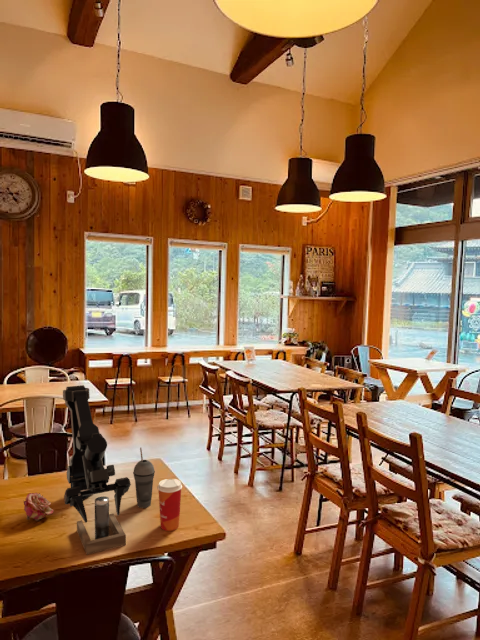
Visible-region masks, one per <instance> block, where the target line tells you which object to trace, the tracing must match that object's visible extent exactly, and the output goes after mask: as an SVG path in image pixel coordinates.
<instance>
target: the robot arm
mask: <svg viewBox="0 0 480 640" xmlns="http://www.w3.org/2000/svg"><path fill="white" fill-rule="evenodd" d="M62 398H63V401H64V404H65V406H66V407H67V408H68V410H69V411H70V421H71V424H70V425H71V435H72V436H71V437H72V448H73V449H72V451H73V453H72V456H71V457H70V460H69V463H68V464H69V465H68V467H67V469H66V479H67V482H68V484H70V487H67V488H66V489H65V492H64V496H63V499H64V501H63V502H64V505H67V506H68V505H69V507H73V508H74V509H75V511H77V512H78V513H79V515H80V516H81V518H82V521H83V522H84V523H87V522H88V517H87V512H86V508H85V505H84V500H85V499H88V498H89V497H92V496H93V495H97V494H103V493H106V492H114V505H115V511H116V515H117V516H119V515H120V510H121V504H122V499H123V498H122V497H123V496H124V495H125V493H128V491H129V490H130V487H131V485H132V484H131V480H130V478H128V477H127V476H125V477H121V478H116V479H115V481H114V483H110V484H109V480H110V477H113V476H115V475H116V470H115V466H114V465H115V464H108V465H106V468H105V466H104V462H103V458H104V457H105V453H106V450H107V448H108V441H107V440H106V438H105V437H104V436H103V434H102V433H100V430H99V427H98V426H97V425H96V424H95V423H94V422H93V421H94V420H93V417H92V413H91V407H90V403H89V399H90V388H89V387H86V386H85V385H84V384H82V385H80V384H79V385H73V386H72V385H71V386H65V389H63V390H62Z"/></svg>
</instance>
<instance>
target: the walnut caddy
mask: <svg viewBox="0 0 480 640" xmlns="http://www.w3.org/2000/svg"><path fill="white" fill-rule="evenodd" d="M109 529H111V531H112V533H113V534H112V535H109V536H108V537H104V538H100V539H95V538H94V539H92V540H91V538H90V536H89V533H88V531H87V529H86V526H85V524H84V521H83V519H82V520H78V521H76V533H77V535H78V537H79V539H80V542H81V544H82V547H83V550H84V552H85V554H86V555H87V556H88V555H92V554H96V553H99V552H103V551H107V550H111V549H115V548H118V547H119V548H120V547H123V546H126V544H127V542H126V541H127V540H126V538H127V535H126V533H125V531H124V529H123V528H122V526H121V524H120V523H119V521H118V520H117V518H116V516H115V515H114V513H109Z"/></svg>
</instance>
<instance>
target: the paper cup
mask: <svg viewBox="0 0 480 640" xmlns="http://www.w3.org/2000/svg"><path fill="white" fill-rule="evenodd" d="M182 488H183V485H182V481H180V479H176V478H168V479H167V478H165V479H162V480H160V481H159V483H158V485H157V490H158V505H159V506H158V507H159V522H160V528H161V530H162V531H165V532H172V531H175V530H177V529H178V528H179V526H180V517H181V513H180V512H181V496H182Z"/></svg>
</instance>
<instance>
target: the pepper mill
mask: <svg viewBox="0 0 480 640" xmlns="http://www.w3.org/2000/svg"><path fill="white" fill-rule="evenodd" d="M109 514H110V498H109V497H108V496H104V495H103V496H98V497H96V498H95V499H94V540H95V539H100V538H104V537H108V536H110V526H109Z"/></svg>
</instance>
